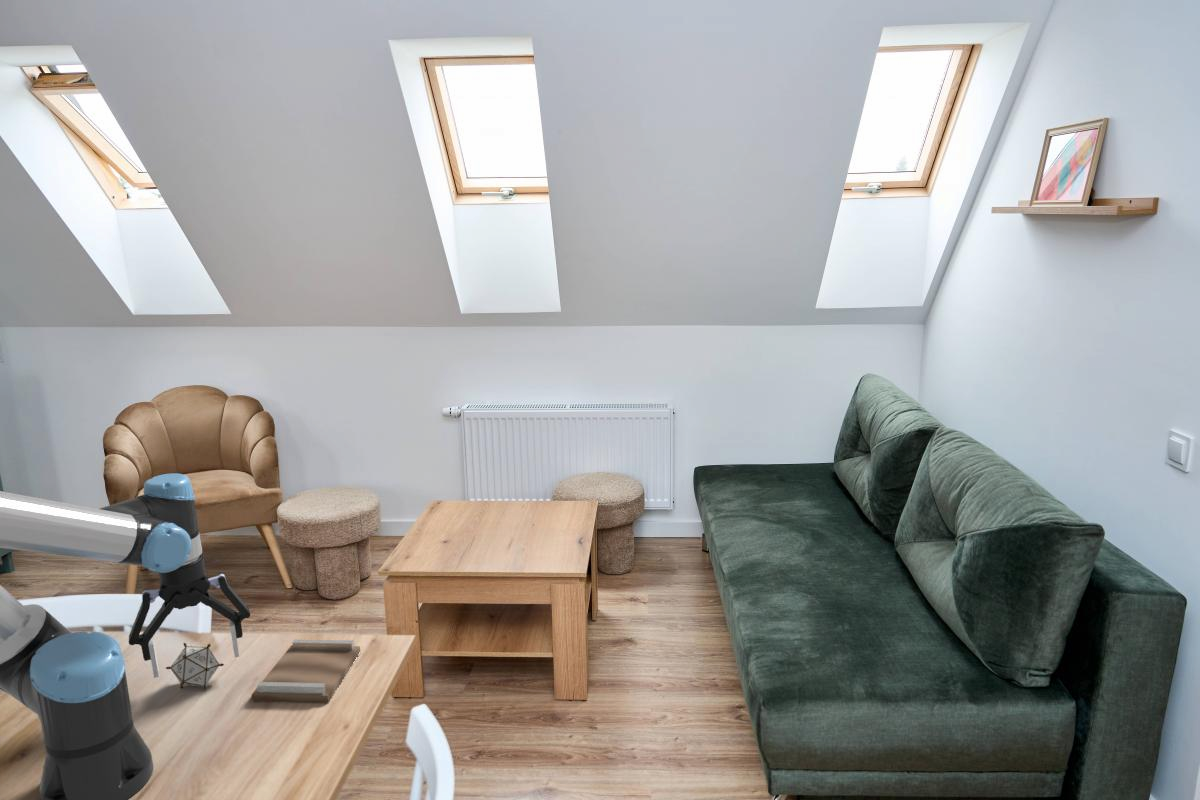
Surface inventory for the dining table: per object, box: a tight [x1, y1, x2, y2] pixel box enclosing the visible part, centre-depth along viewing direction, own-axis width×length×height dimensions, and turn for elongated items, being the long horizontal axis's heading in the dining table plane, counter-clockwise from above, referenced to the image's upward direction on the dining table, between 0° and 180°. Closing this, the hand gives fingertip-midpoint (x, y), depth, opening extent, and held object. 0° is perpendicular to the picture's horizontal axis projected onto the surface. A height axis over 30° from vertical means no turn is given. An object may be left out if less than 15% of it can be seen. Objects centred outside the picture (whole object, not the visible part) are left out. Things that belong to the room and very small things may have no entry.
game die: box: [165, 642, 225, 691], centre depth 157 cm, size 9×8×10 cm
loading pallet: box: [251, 639, 361, 704], centre depth 160 cm, size 17×14×3 cm
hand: (197, 663), depth 157 cm, fingers open, 13 cm apart
